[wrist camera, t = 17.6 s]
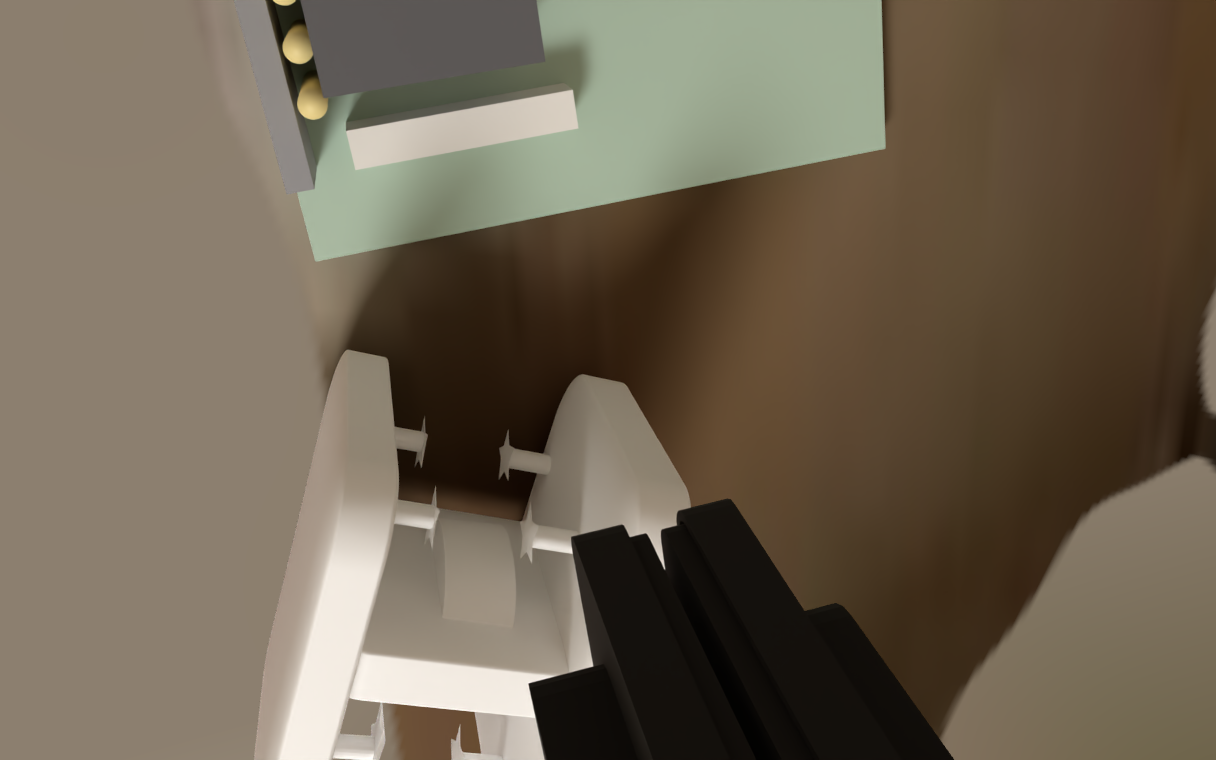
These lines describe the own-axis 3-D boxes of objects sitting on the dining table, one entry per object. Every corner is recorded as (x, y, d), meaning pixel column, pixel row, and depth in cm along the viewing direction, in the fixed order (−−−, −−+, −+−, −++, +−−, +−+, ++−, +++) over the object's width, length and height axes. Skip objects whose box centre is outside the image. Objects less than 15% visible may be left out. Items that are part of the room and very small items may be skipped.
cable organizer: (344, 302, 37) (343, 457, 26) (628, 363, 40) (727, 522, 30) (261, 658, 42) (232, 907, 31) (520, 686, 45) (572, 920, 35)
